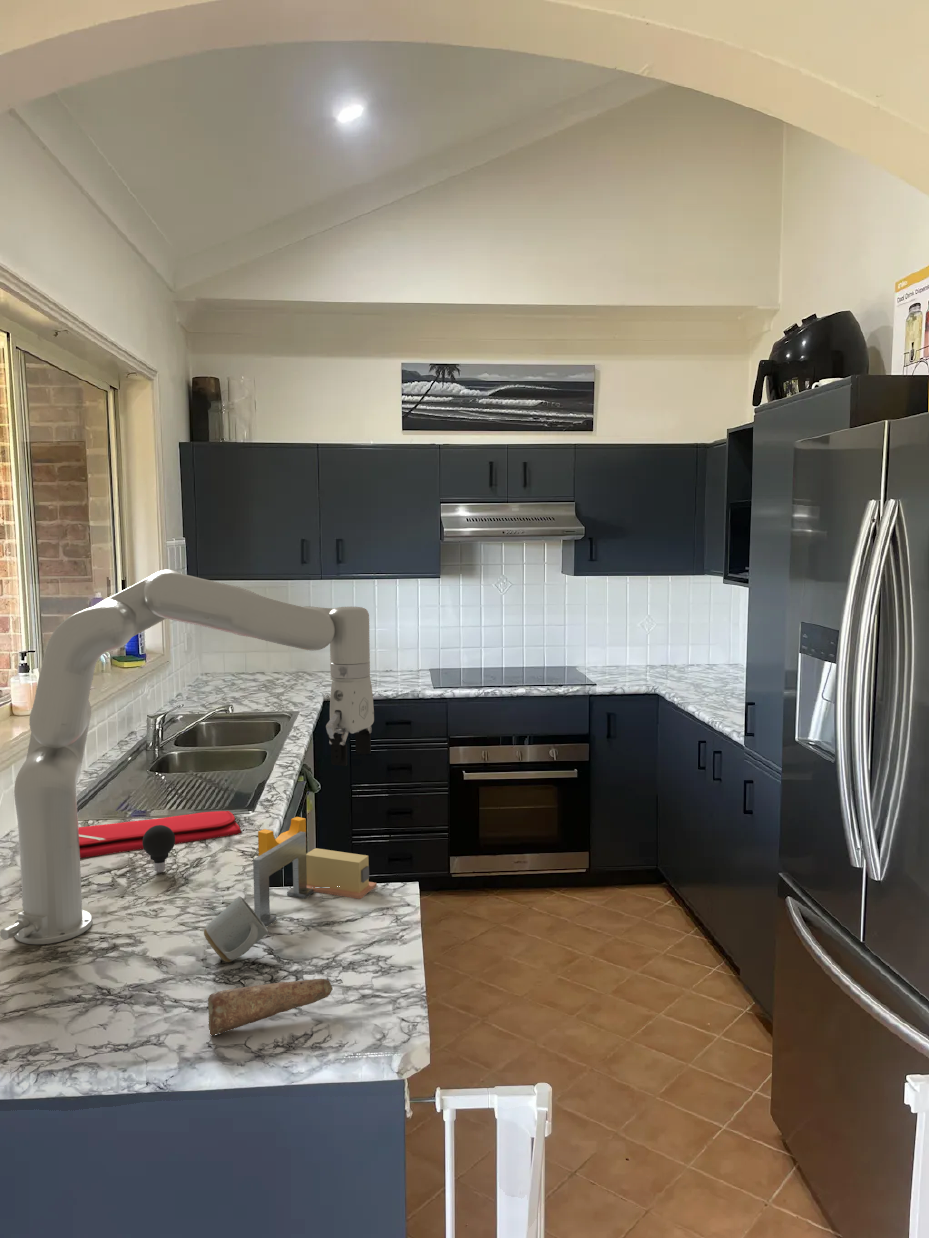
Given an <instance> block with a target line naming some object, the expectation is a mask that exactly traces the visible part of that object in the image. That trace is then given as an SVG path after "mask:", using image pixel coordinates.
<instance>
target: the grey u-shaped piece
mask: <svg viewBox="0 0 929 1238" xmlns="http://www.w3.org/2000/svg"><path fill="white" fill-rule="evenodd" d="M306 854H307V831H306V832H299V833H297V834H295V835H294V836H292V837H290V838H289V839H287V840H285V841H284V842H282V843H280V844H279V845H277V846H275V847H274V848H272V849H270V850H269V851H267V852H265V853H263V854H262V855H260V856H259V855H258V856H256V857H255V858H253V859H252V864H253V865H252V866H253V867H252V868H253V901H254V905H253V907H254V910H253V911H254V912H255V914H256V915H257V916H258V917H259V919H260V920H261V921H262V922H263V924H264V925H265V927H266V926H268V927H269V926H271V923H272V924H273V923H275V922H276V921H277V920H276V919H277V915H275V914H270V913H271V909H270V908H271V907H270V877H271V876H272V875H273V874H274V873H276V872H278V871H279V870H281V869H283V868H284V867H285V866H287V865H289V864H290V863H292V884H293V885H292V886H293V887H292V888H291V889H290V890H288V891H286V895H287V897H294V898H300V899H303V900H304V899H306V898H309V896H311V895H312V894H314V892H313V889H310V888H307V867H306ZM275 920H276V921H275Z"/></svg>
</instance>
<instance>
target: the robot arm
mask: <svg viewBox="0 0 929 1238" xmlns="http://www.w3.org/2000/svg"><path fill="white" fill-rule="evenodd" d="M369 613H370V612H369V611H368V610H367V609H366V608H365V607H363V606H339V607H335V608H334V607H333V608H332V607H330V608H329V607H328V608H327V607H320V606H310V605H309V606H301V605H300V606H299V605H296V604H292V603H288V602H283V601H280V600H276V599H272V598H269V597H266V596H264V595H263V596H262V595H260V594H259V593H256V592H254V591H251V590H249V589H246V588H243V587H240V586H236V585H231V584H227V583H221V582H220V581H216V580H215V581H214V580H210V579H206V578H201V577H198V576H193V575H189V574H184V573H181V572H178V571H176V570H173V569H162V570H159V571H156V572H155V573H152V574H151V575H149V576H147V577H146V578H144V579H142V580H140V581H139V582H137V583H134V584H133V585H130V586H129V587H126V588H125V589H123V590H121V591H119V592H117V593H115V594H112V595H111V596H109V597H107V598H105V599H103V600H101V601H100V602H97V603H96V604H95V605H93V606H90V607H88V608H85V609H83V610H80V611H77V612H76V613H73V614H72V615H70V616H68V617H67V618H65V620H63V621H62V622H61V623H59V625H58V626H57V627H56V628H55V629H54V631H53V632H52V634H51V635H50V637H49V639H48V641H47V644H46V647H45V650H44V655H43V659H42V663H41V668H40V672H39V676H38V680H37V684H36V685H37V686H36V690H35V694H34V701H33V705H32V708H31V710H30V713H29V718H28V719H29V720H28V721H29V723H28V725H29V730H30V737H29V743H28V747H27V754H26V759H25V761H24V763H22V765H21V767H20V769H19V770H18V772H17V775H16V778H15V781H14V787H13V788H14V789H13V790H14V791H13V793H14V795H13V796H14V805H15V811H16V819H17V826H18V827H17V829H18V830H17V831H18V843H19V845H18V846H19V847H18V848H19V858H20V859H19V860H20V861H19V862H20V878H21V879H20V880H21V900H22V911H20V912H18V913H17V918H18V919H16V920H15V922H14V923H13V924H9V925H8V926H6V927H4V928H1V929H0V938H1V939H3V940H4V941H6V940H9V939H10V938H13V937H14V938H15V940H16V941H18V942H20V943H22V944H28V945H48V944H55V943H60V942H64V941H67V940H70V939H73V938H75V937H79V936H80V935H82V934H84V933H85V932H86V931H89V929H90V928H91V927H92V925H93V916H92V914H91V913H90V912H89V911H87V910H84V909H83V897H82V877H81V876H82V875H81V874H82V873H81V858H80V849H79V828H78V827H79V816H78V814H79V813H78V804H77V787H78V786H77V785H78V782H79V778H80V774H81V770H82V766H83V759H84V755H85V754H84V753H85V749H86V744H87V739H88V738H87V737H88V734H89V733H88V732H89V728H90V724H91V723H90V722H91V717H92V706H91V703H90V700H89V699H90V694H91V687H92V683H93V680H94V675H95V671H96V670H95V668H96V665H97V662H98V661H99V659H100V657H102V656H103V655H104V654H106V653H108V652H112V651H117V650H119V649H121V648H123V647H124V646H126V644H128V643H129V642H130V640H131V639H132V638H133V637H135V636H137V635H138V634H140V633H142V632H144V631H146V630H148V629H150V628H151V627H152V628H153V627H154V626H156V625H158V624H159V623H161V622H163V621H165V620H171V621H175V622H181V623H185V624H190V625H195V626H200V627H204V628H208V629H211V630H212V629H213V630H216V631H217V630H218V631H220V632H225V633H230V634H234V635H238V636H242V637H246V638H253V639H256V640H257V639H258V640H261V641H265V642H268V643H274V644H277V645H280V646H281V645H282V646H286V647H291V648H296V649H300V650H305V651H311V652H312V651H314V652H315V651H320V650H323V649H325V648H327V647H328V646H329V654H330V655H329V657H330V659H329V660H330V664H329V665H330V680H331V686H330V697H329V701H330V702H329V720H328V722H327V723H326V725H325V729H326V733H327V739H328V740H329V742H328V743H329V745H330V763H331V765H333V766H341V767H342V766H343V767H345V766H347V765H348V744H346V741H347V738H348V736H349V733H350V734H354V742H355V745H354V747H355V749H354V750H355V753H357V754H364V755H366V754H367V755H369V754H371V753H372V734H371V733H372V731H373V729H372V725H373V724H374V722H375V710H374V695H373V694H374V693H373V686H372V679H371V669H370V668H371V659H370V658H371V657H370V654H371V651H370V650H371V649H370V645H371V644H370V614H369Z"/></svg>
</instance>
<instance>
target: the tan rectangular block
mask: <svg viewBox="0 0 929 1238" xmlns="http://www.w3.org/2000/svg"><path fill="white" fill-rule="evenodd" d="M369 861H370V860H369V855H366V854H358V853H352V852H344V851H337V850H332V849H331V850H330V849H325V848H317V847H316V848H314V849H312V850H310V851H308V852H306V867H307V885H314V886H320V887H330V888H332V889H339V890H345V891H351V892H357V893H360V892H361V891H362V890H363V889H365V888H366V887H367V886H369V882H370V881H369V879H370V865H369ZM337 886H338V887H337ZM339 886H340V887H339Z"/></svg>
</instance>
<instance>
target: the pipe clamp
mask: <svg viewBox="0 0 929 1238" xmlns="http://www.w3.org/2000/svg"><path fill="white" fill-rule="evenodd" d="M299 832H306V833H307V820H306V818H304V817H301V816H300V817H299V816H295V817H293V818H291V819H290V825H289V829H288V830H287V831H284V832H281V833H280V834H279V835H278V836H277V837H276V838H275V834H274V830H270V829H266V828H263V829H261V830H258V832H257V839H258V840H257V841H258V844H257V846H258V848H257V849H258V856H260V855H262V854H263V853H265V852H267V851H269V850H270V849H272V848H274V847H275V846H277V845H279V844H280V843H282V842H284V841H285V840H287V839H289V838H290V837H292V836H294V835H295V834H297V833H299Z"/></svg>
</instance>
